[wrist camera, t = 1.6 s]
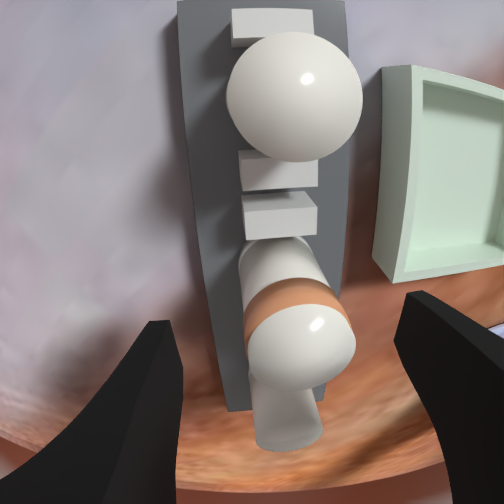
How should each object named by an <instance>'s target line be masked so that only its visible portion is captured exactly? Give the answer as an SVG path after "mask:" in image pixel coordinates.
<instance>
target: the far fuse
mask: <svg viewBox="0 0 504 504" xmlns="http://www.w3.org/2000/svg"><path fill="white" fill-rule="evenodd" d="M248 377H249V382H250V392H251V401H252V410H253V419H254V428H255V436H256V443H257V445H258V446H259V447H260V448H262V449H264V450H268V451H273V452H285V451H292V450H297V449H300V448H303V447H306V446H308V445H310V444H312V443H314V442H315V441H316V440H318V439H319V438H320V437H321V435H322V433H323V427H322V424H321V420H320V416H319V413H318V409H317V406H316V402H315V398H314V395H313V391H312V388H310V389H306V390H301V391H280V390H275V389H272V388H269V387H266V386H265V385H263V384H261V383H260V382H259V381H257V380H256V379H255V378H254V376H253V375H252V373H251V370H250V367H249V364H248Z"/></svg>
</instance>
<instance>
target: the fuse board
mask: <svg viewBox="0 0 504 504" xmlns="http://www.w3.org/2000/svg"><path fill="white" fill-rule="evenodd" d="M177 17H178V38H179V56H180V71H181V85H182V98H183V110H184V121H185V132H186V142H187V152H188V161H189V170H190V179H191V188H192V196H193V204H194V212H195V220H196V227H197V235H198V242H199V249H200V256H201V263H202V269H203V276H204V283H205V289H206V295H207V301H208V307H209V313H210V319H211V325H212V331H213V337H214V342H215V348H216V353H217V359H218V364H219V369H220V375H221V380H222V385H223V390H224V395H225V400H226V405H227V409H228V412H233V411H246V410H252V401H251V392H250V382H249V377H248V364H249V362H248V359H247V357H246V351H245V341H244V331H243V316H244V312H243V303H242V293H241V283H240V276H239V268H238V257H239V253H240V250H241V248H242V246H243V244H244V243H245V242H246V240H256V239H268V238H280V237H292V236H303V237H304V239H305V240H306V241H307V243H308V245H309V247H310V249H311V251H312V252H313V255H314V257H315V259H316V261H317V263H318V265H319V267H320V269H321V271H322V272H323V274H324V276H325V278H326V280H327V282H328V284H329V286H330V288H331V289H332V290H333V291H334V292H335V294H336V295H337V297H338V299H339V295H340V287H341V278H342V268H343V258H344V247H345V235H346V222H347V206H348V188H349V162H350V138H349V139H348V140H347V141H346V142H345V143H344V144H343V145H342V146H341V147H340V148H339V149H337V150H336V151H334V152H333V153H331V154H329V155H327V156H326V157H323V158H320V159H318V160H314V161H309V162H286V161H281V160H278V159H274V158H272V157H269V156H267V155H265V154H263V153H262V152H260V151H258V150H257V149H256V148H254V147H253V146H252V145H251V144H249V143H248V142H247V141H246V140H245V139H244V137H243V136H242V135H241V133H240V132H239V131H238V129H237V127H236V126H235V124H234V121H233V119H232V118H231V116H230V114H229V112H228V109H227V105H226V88H227V84H228V81H229V79H230V76H231V73H232V71H233V68H234V66H235V64H236V63H237V61H238V60H239V58H240V57H241V56H242V54H243V53H244V52H245V51H246V50H247V49H248V48H249V47H251V46H252V45H253V44H255V43H256V42H258V41H259V40H261V39H263V38H265V37H268V36H270V35H274V34H277V33H283V32H304V33H308V34H313V35H316V36H318V37H321V38H323V39H325V40H327V41H329V42H330V43H332V44H333V45H335V46H336V47H337V48H339V49H340V50H341V51H342V52H343V53H344V54H345V55H346V56H347V58H348V59H349V55H348V38H347V24H346V13H345V2H344V1H341V0H184V1H177ZM325 387H326V383H324V384H322V385H320V386H317V387H314V388H312V391H313V395H314V398H315V402H316V401H322V400H323V398H324V392H325Z"/></svg>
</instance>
